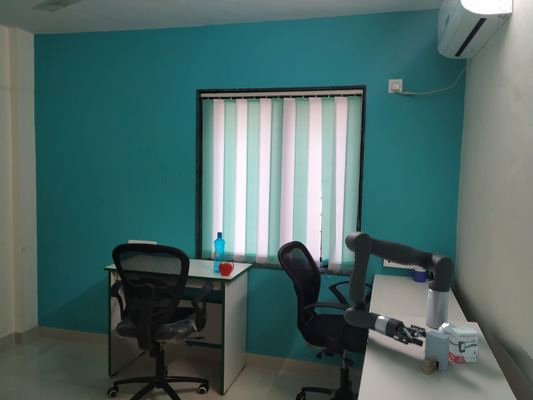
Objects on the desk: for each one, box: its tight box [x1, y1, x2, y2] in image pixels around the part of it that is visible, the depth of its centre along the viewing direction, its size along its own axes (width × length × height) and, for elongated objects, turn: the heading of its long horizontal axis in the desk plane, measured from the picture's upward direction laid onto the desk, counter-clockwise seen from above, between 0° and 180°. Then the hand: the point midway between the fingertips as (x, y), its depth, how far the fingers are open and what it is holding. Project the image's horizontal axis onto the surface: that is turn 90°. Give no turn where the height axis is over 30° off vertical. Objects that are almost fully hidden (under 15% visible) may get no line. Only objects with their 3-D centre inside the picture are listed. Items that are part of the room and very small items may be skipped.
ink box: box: [449, 326, 479, 363], centre depth 157 cm, size 8×5×12 cm, turn 98°
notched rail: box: [422, 353, 450, 375], centre depth 152 cm, size 16×2×4 cm, turn 132°
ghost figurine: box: [436, 321, 457, 345], centre depth 169 cm, size 9×10×10 cm
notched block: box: [423, 330, 450, 372], centre depth 151 cm, size 4×7×12 cm, turn 42°
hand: (428, 340), depth 154 cm, fingers open, 8 cm apart
